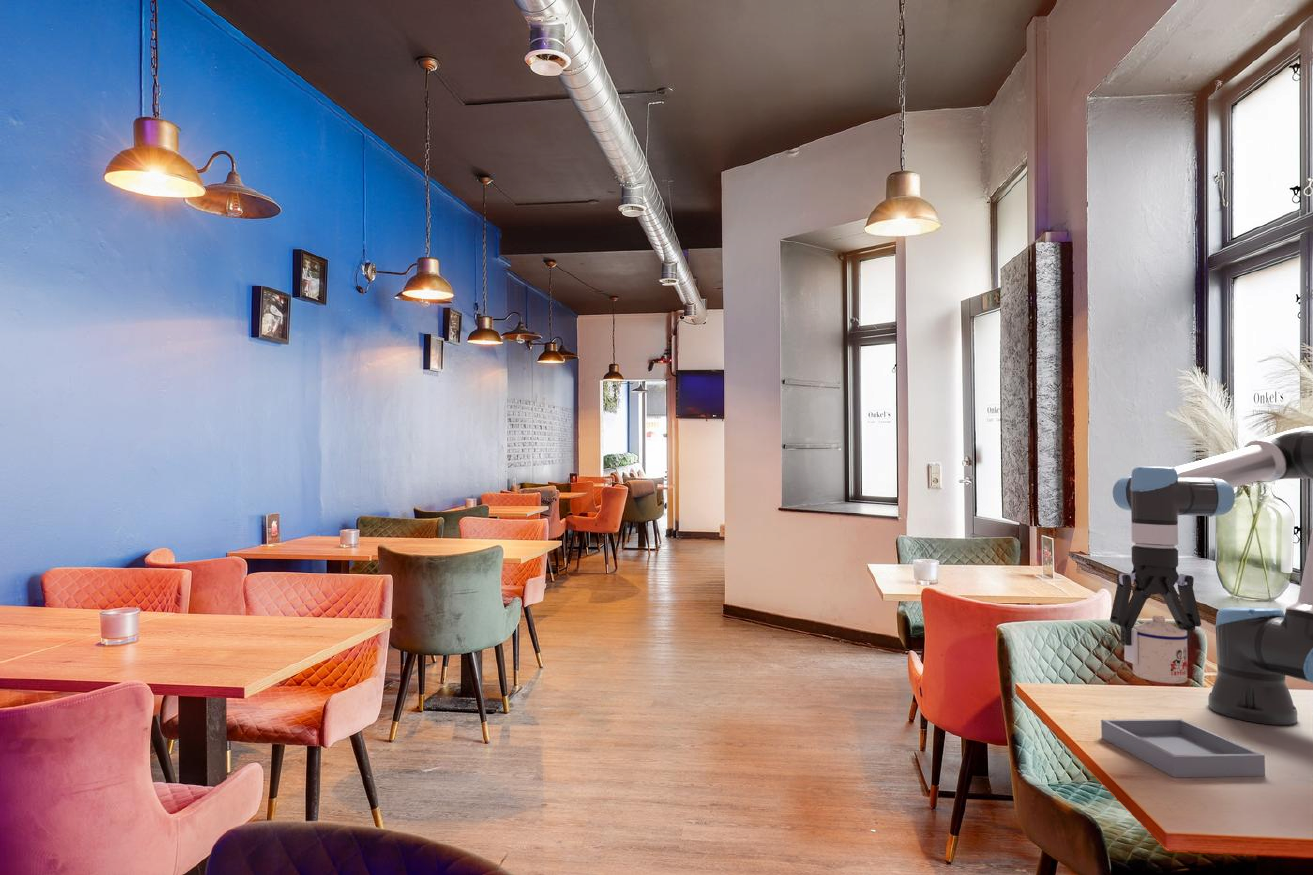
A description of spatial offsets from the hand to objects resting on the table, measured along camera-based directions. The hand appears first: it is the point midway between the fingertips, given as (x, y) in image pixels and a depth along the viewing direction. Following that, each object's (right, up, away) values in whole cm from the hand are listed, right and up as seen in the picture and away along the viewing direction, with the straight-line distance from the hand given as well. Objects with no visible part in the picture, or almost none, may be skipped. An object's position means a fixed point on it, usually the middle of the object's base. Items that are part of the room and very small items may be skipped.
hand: (1155, 662), depth 141 cm
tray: (0, -16, -5) cm, 16 cm away
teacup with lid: (+1, -3, 0) cm, 3 cm away
